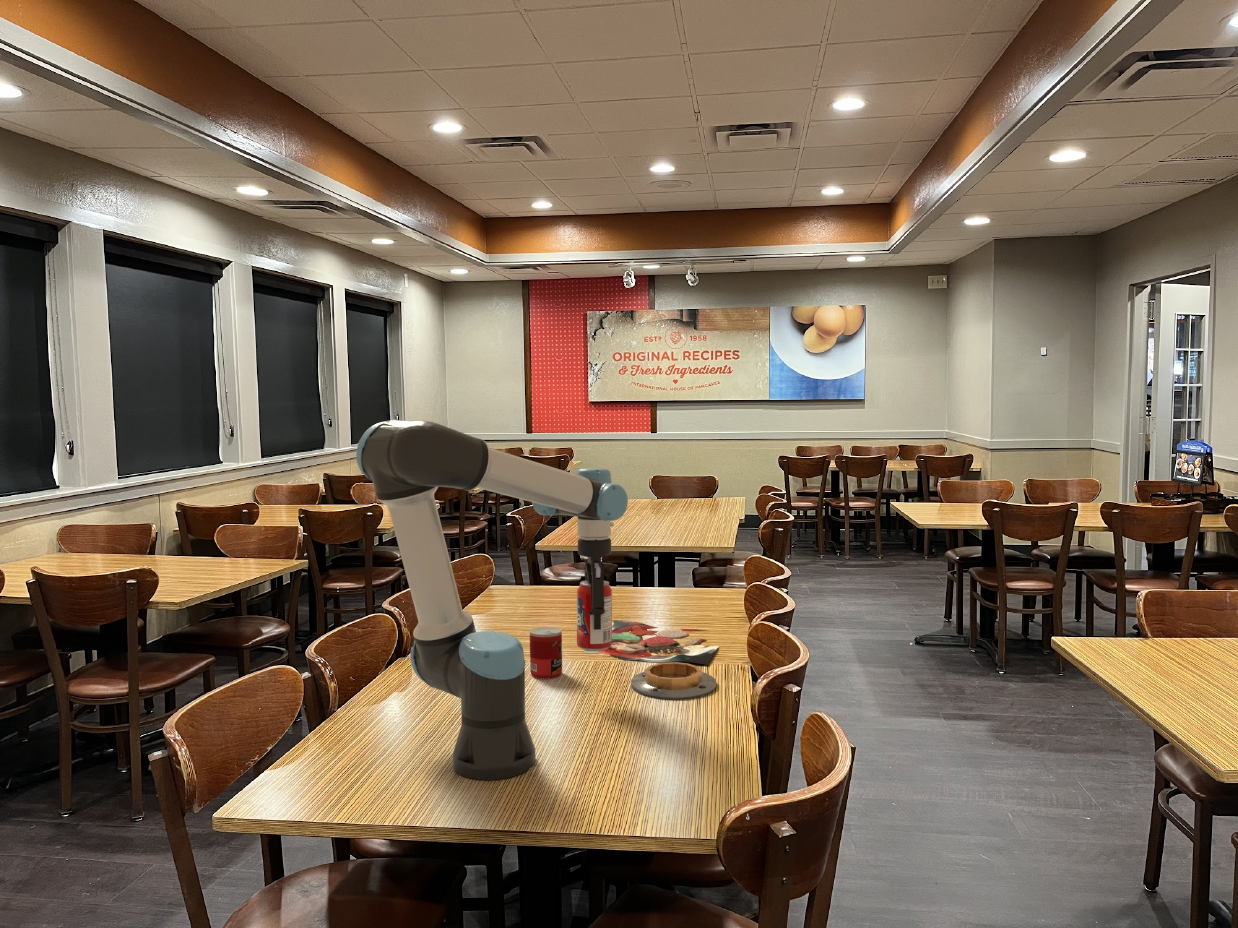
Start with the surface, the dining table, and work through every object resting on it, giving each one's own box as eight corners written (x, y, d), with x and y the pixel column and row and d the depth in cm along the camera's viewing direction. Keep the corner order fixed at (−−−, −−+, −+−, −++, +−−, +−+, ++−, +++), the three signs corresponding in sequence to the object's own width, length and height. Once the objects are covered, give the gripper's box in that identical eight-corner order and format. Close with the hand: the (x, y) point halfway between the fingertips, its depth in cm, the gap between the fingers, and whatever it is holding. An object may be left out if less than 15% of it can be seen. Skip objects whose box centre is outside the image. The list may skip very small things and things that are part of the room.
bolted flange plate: (726, 696, 194) (726, 681, 194) (638, 701, 191) (638, 686, 191) (704, 670, 214) (704, 656, 214) (624, 674, 211) (624, 660, 211)
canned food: (557, 679, 208) (557, 635, 207) (526, 678, 209) (525, 633, 209) (566, 670, 215) (565, 627, 214) (535, 668, 217) (534, 625, 216)
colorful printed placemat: (577, 659, 227) (577, 651, 226) (614, 626, 260) (614, 620, 260) (707, 667, 217) (707, 660, 217) (728, 633, 251) (728, 626, 251)
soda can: (607, 653, 188) (607, 586, 187) (573, 651, 190) (573, 584, 189) (615, 644, 196) (615, 579, 195) (581, 642, 197) (581, 578, 197)
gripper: (617, 543, 182) (617, 649, 183) (604, 531, 202) (604, 626, 203) (582, 544, 181) (582, 651, 182) (573, 531, 201) (573, 627, 202)
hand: (594, 638), depth 193 cm, fingers closed on soda can, 8 cm apart
